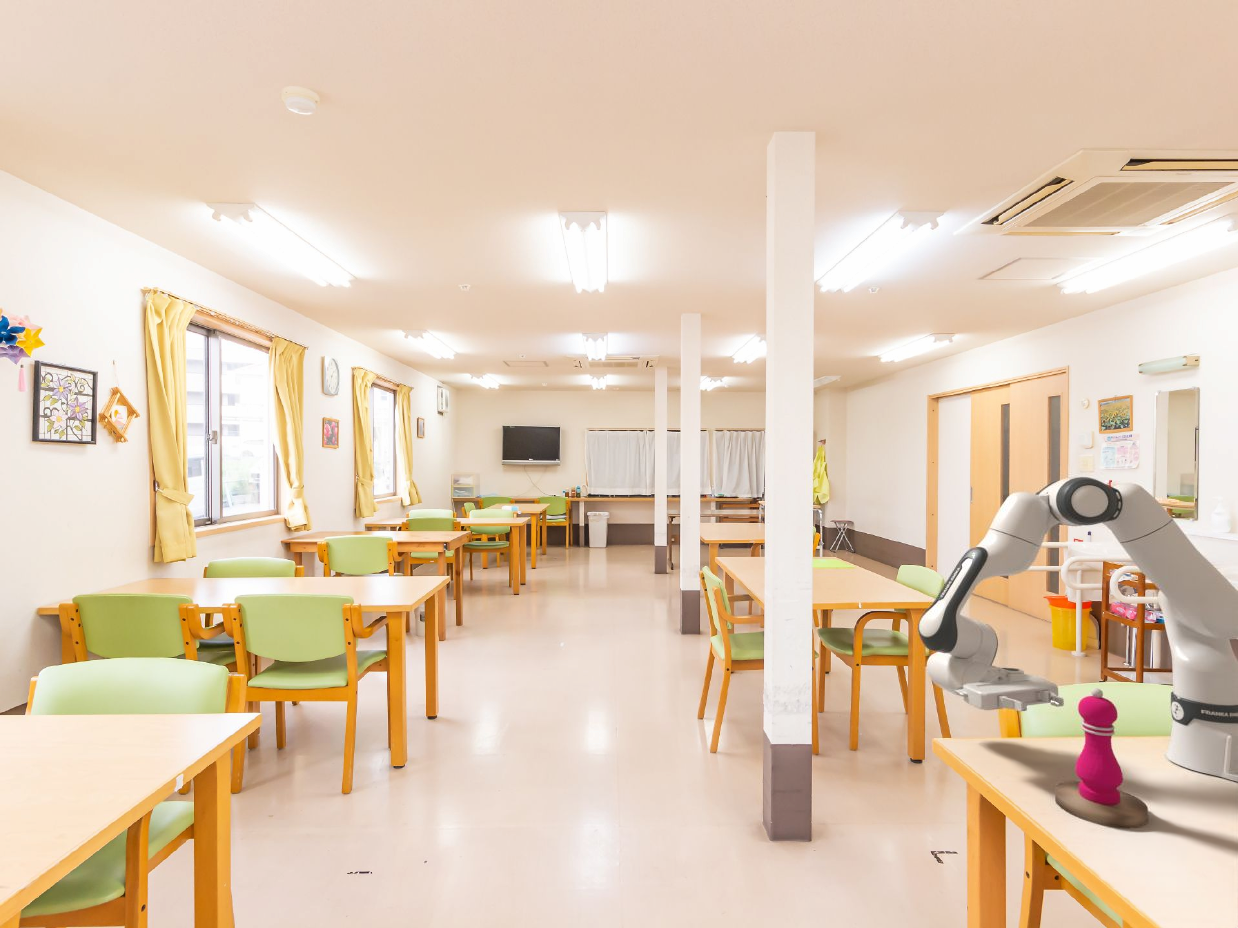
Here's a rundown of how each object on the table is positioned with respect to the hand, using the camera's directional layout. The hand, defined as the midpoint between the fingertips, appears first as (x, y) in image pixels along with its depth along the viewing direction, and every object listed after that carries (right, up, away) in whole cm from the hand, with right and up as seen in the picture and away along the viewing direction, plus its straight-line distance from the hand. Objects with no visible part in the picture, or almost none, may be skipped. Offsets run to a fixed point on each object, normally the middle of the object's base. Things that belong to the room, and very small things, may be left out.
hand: (1042, 704), depth 137 cm
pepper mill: (+3, -13, -12) cm, 18 cm away
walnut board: (+3, -15, -12) cm, 19 cm away
